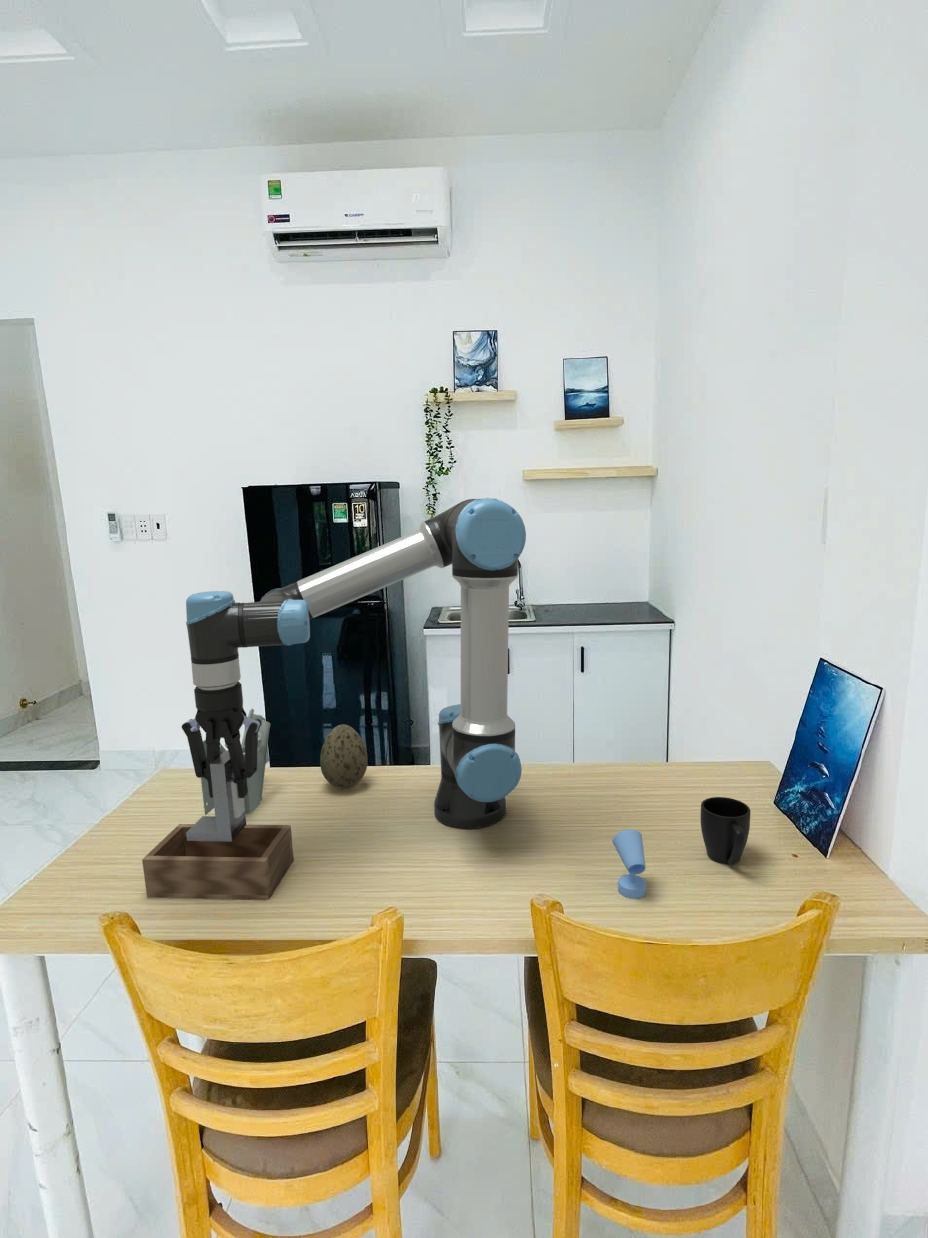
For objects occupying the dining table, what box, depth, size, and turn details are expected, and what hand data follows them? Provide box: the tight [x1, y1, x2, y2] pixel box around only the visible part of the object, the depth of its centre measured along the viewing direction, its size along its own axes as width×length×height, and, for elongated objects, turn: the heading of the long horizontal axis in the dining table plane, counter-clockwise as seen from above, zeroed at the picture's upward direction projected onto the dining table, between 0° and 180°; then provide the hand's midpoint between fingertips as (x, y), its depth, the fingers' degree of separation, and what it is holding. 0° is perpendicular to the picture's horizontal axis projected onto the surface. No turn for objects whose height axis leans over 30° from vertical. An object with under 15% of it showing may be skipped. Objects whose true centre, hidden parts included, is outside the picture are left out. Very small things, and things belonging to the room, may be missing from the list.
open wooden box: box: [141, 823, 295, 901], centre depth 118 cm, size 21×12×7 cm, turn 85°
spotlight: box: [612, 829, 647, 900], centre depth 110 cm, size 5×10×7 cm
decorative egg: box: [319, 723, 369, 790], centre depth 153 cm, size 11×11×15 cm
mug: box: [700, 796, 752, 866], centre depth 117 cm, size 8×12×10 cm
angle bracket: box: [186, 750, 247, 842], centre depth 115 cm, size 8×6×14 cm
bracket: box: [200, 708, 271, 816], centre depth 144 cm, size 28×7×20 cm, turn 170°
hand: (230, 813), depth 116 cm, fingers closed on angle bracket, 2 cm apart
